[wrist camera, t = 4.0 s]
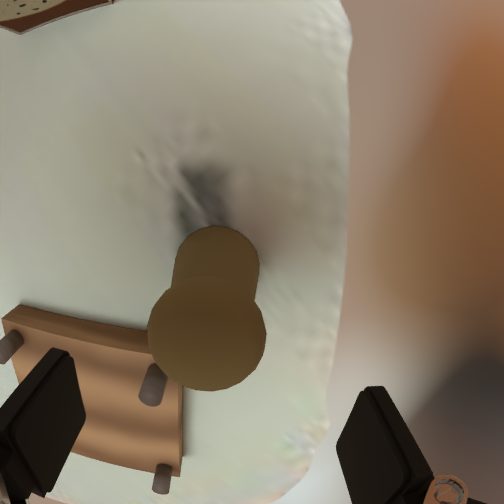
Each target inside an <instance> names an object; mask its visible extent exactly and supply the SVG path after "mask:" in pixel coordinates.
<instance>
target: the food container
mask: <svg viewBox="0 0 504 504" xmlns="http://www.w3.org/2000/svg"><path fill="white" fill-rule="evenodd" d="M110 4H113V0H0V27H1V28H3V29H6V30H9V31H12V32H14V33H17V34H20V35H21V34H24V33H26V32H28V31H31V30H33V29H36V28H38V27H41V26H43V25H46V24H48V23H51V22H54V21H57V20H59V19H62V18H65V17H68V16H71V15H74V14H77V13H81V12H84V11H87V10H91V9H95V8H98V7H102V6H106V5H110Z"/></svg>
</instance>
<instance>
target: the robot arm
mask: <svg viewBox="0 0 504 504" xmlns="http://www.w3.org/2000/svg"><path fill="white" fill-rule="evenodd" d="M85 421H86V412H85V408H84V404H83V400H82V396H81V391H80V387H79V382H78V378H77V373H76V368H75V363H74V359H73V357H71V356H70V354H69V352H68V351H65V350H61V349H58V348H55V347H52V348H51V349H50V350H49V351H48V352H47V353H46V354H45V355H44V356H43V357H42V359H41V360H40V361H39V362H38V363H37V364H36V365H35V367H34V368H33V369H32V370H31V371H30V372H29V374H28V375H27V376H26V377H25V378H24V380H23V381H22V382H21V383H20V384H19V386H18V387H17V388H16V389H15V390H14V392H13V393H12V394H11V395H10V396H9V398H8V399H7V400H6V401H5V403H4V404H3V405H2V406H1V408H0V504H30V501H29V496H30V494H31V492H32V493H34V494H36V495H38V496H41V497H43V498H44V497H45V495H46V493H47V492H51V491H52V489H53V487H54V485H55V483H56V481H57V479H58V476H59V474H60V472H61V470H62V468H63V466H64V464H65V462H66V460H67V458H68V455H69V453H70V451H71V449H72V447H73V445H74V443H75V441H76V439H77V437H78V435H79V433H80V431H81V429H82V427H83V425H84V423H85ZM336 451H337V455H338V458H339V461H340V465H341V468H342V471H343V475H344V478H345V481H346V484H347V488H348V491H349V495H350V498H351V501H352V504H486V503H483V502H480V501H477V500H474V499H471V498H468V491H467V488H466V486H465V484H464V483H463V482H462V481H461V480H460V479H458V478H456V477H454V476H450V475H443V476H439V477H437V478H434V476H433V472H432V471H431V469H430V467H429V465H428V463H427V461H426V459H425V458H424V456H423V454H422V452H421V450H420V448H419V447H418V445H417V443H416V441H415V439H414V438H413V436H412V434H411V432H410V431H409V429H408V427H407V425H406V423H405V422H404V420H403V418H402V416H401V415H400V413H399V411H398V410H397V408H396V406H395V404H394V403H393V401H392V399H391V398H390V396H389V394H388V392H387V391H386V389H385V388H384V387H383V386H371V387H370V386H368V387H366V388H365V389H364V391H361V392H360V393H359V395H358V397H357V400H356V402H355V404H354V407H353V409H352V411H351V413H350V416H349V418H348V420H347V422H346V425H345V427H344V429H343V431H342V433H341V435H340V437H339V439H338V441H337V444H336Z"/></svg>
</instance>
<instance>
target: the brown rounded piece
mask: <svg viewBox="0 0 504 504" xmlns="http://www.w3.org/2000/svg"><path fill="white" fill-rule="evenodd" d="M258 275H259V260H258V256H257V252H256V250H255V249H254V247H253V245H252V244H251V242H250V241H249V240H248V239H247V238H246V237H244V236H243V235H242V234H241V233H240V232H238V231H235V230H233V229H230V228H228V227H220V226H210V227H206V228H202V229H199V230H197V231H196V232H194V233H193V234H191V235H189V236H188V237H187V238H186V239H185V241H184V242H183V243H182V244H181V246H180V247H179V250H178V253H177V256H176V258H175V264H174V270H173V277H172V283H171V288H170V289H168V290H166V291H165V292H164V294H163V295H162V296H161V297H160V299H159V300H158V301H157V302H156V304H155V305H154V307H153V309H152V311H151V315H150V318H149V321H148V325H147V334H148V346H149V349H150V352H151V354H152V356H153V358H154V360H155V362H156V364H157V365H158V366H159V367H160V369H161V370H162V371H163V372H164V373H165V374H166V375H167V376H168V377H169V378H170V379H172V380H174V381H175V382H177V383H178V384H180V385H182V386H185V387H188V388H191V389H194V390H200V391H217V390H223V389H227V388H229V387H232V386H234V385H236V384H238V383H240V382H241V381H243V380H244V379H245V378H246V377H247V376H248V375H250V374H251V373H252V372H253V371H254V370H255V369H256V367H257V365H258V363H259V362H260V360H261V358H262V356H263V353H264V349H265V342H266V329H265V325H264V321H263V317H262V313H261V310H260V309H259V307H258V306H257V305H256V303H255V302H254V300H255V294H256V288H257V282H258Z"/></svg>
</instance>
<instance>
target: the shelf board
mask: <svg viewBox="0 0 504 504" xmlns="http://www.w3.org/2000/svg"><path fill="white" fill-rule="evenodd" d="M2 324H3V328H4V332H5V336H4V337H3V338H2V339H1V340H0V364H5V363H6V362H7V361H8V360H9V359H10V358H11V359H12V363H13V366H14V369H15V373H16V376H17V379H18V382H19V384H20V383H21V382H22V381H23V380H24V378H25V377H26V376H27V375H28V374H29V372H30V371H31V370H32V369H33V368H34V367H35V365H36V364H37V363H38V362H39V361H40V360H41V359H42V357H43V356H44V355H45V354H46V353H47V352H48V351H49V350H50V349H51V348H52V347H55V348H58V349H61V350H65V351H68V352H69V354H70V356H71V357H73V359H74V363H75V368H76V373H77V378H78V382H79V387H80V391H81V396H82V400H83V404H84V408H85V412H86V421H85V423H84V425H83V427H82V429H81V431H80V433H79V435H78V437H77V439H76V441H75V443H74V445H73V447H72V449H71V451H70V452H73V453H76V454H79V455H82V456H86V457H89V458H92V459H96V460H99V461H103V462H107V463H111V464H115V465H119V466H123V467H127V468H132V469H136V470H141V471H146V472H151V473H155V476H154V481H153V486H152V490H153V491H154V492H156V493H158V494H168V493H169V488H170V481H171V476H175V477H180V471H181V463H182V393H183V386H182V385H180V384H178V383H177V382H175V381H174V380H172V379H170V378H169V377H168V376H167V375H166V374H165V373H164V372H163V371H162V370H161V369H160V367H159V366H158V365H157V364H156V362H155V360H154V358H153V356H152V354H151V352H150V349H149V346H148V334H147V332H146V331H140V330H134V329H128V328H123V327H117V326H112V325H106V324H101V323H96V322H91V321H86V320H82V319H77V318H72V317H68V316H63V315H59V314H55V313H51V312H46V311H42V310H38V309H34V308H30V307H27V306H23V305H18V306H16V307H15V308H14V309H13V310H11V311H10V312H9V313H8V314H6V315H5V316H4V317H3V318H2Z"/></svg>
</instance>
